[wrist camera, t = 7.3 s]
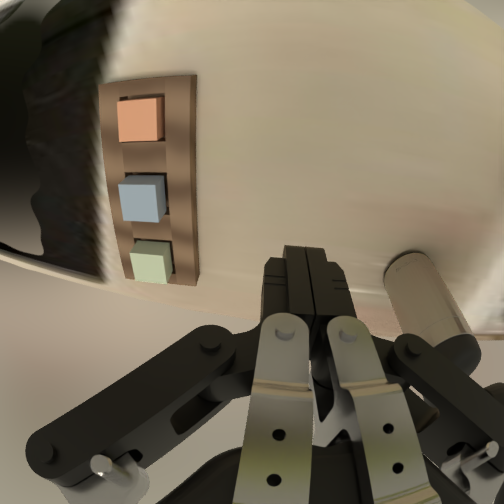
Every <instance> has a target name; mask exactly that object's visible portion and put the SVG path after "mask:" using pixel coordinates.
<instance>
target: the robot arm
mask: <svg viewBox="0 0 504 504" xmlns="http://www.w3.org/2000/svg"><path fill="white" fill-rule="evenodd" d="M384 286H385V288H386V291H387V293H388V296H389V298H390V301H391V303H392V306H393V308H394V311H395V314H396V316H397V319H398V321H399V324H400V327H401V329H402V332H403V334H402V335H400V336H398V337H397V338H396V340H395V342H392V341H389V340H385V339H381V338H378V337H375V336H373V335H371V334H370V332H369V329H368V328H367V326H366V325H365V324H364V323H363V322H362V321H360V320H359V319H357V316H356V312H355V309H354V305H353V302H352V298H351V295H350V291H349V290H348V289H349V288H348V284H347V282H346V278H345V274H344V271H343V270H342V269H341V268H340V266H339V265H338V264H337V263H336V262H327V258H326V254H325V250H324V249H323V248H313V247H301V246H289V245H285V246H284V251H283V258H274V257H270V259H269V260H268V261H267V263H266V264H265V267H264V276H263V285H262V294H261V315H260V323H259V324H258V326H256V327H255V328H254V329H252V330H250V331H247V332H243V333H238V334H232V333H231V332H230V331H229V330H227V329H225V328H223V327H221V326H217V325H204V326H200V327H198V328H196V329H194V330H193V331H191V332H190V333H188V334H187V335H185V336H184V337H183V338H181V339H180V340H179V341H177V342H175V343H174V344H172V345H171V346H169V347H168V348H166V349H165V350H163V351H162V352H160V353H159V354H157V355H156V356H154V357H153V358H151V359H150V360H148V361H147V362H145V363H144V364H142V365H141V366H139V367H138V368H136V369H135V370H133V371H132V372H130V373H129V374H127V375H126V376H124V377H122V378H121V379H119V380H118V381H116V382H115V383H113V384H112V385H110V386H109V387H107V388H105V389H104V390H102V391H101V392H99V393H98V394H96V395H95V396H93V397H91V398H90V399H88V400H86V401H85V402H83V403H82V404H80V405H78V406H77V407H75V408H74V409H72V410H70V411H69V412H67V413H66V414H64V415H62V416H61V417H59V418H57V419H56V420H54V421H52V422H51V423H49V424H47V425H46V426H44V427H43V428H41V429H39V430H38V431H36V432H34V433H33V434H32V435H31V436H30V438H29V439H28V441H27V444H26V450H25V452H26V458H27V462H28V464H29V466H30V467H31V469H32V470H33V471H34V472H35V473H36V474H38V475H39V476H41V477H43V478H45V479H47V480H49V481H51V482H53V483H54V484H56V485H57V486H58V487H59V489H60V490H61V492H62V493H63V494H64V496H65V498H66V499H67V500H68V502H69V504H137V503H138V501H139V500H140V499H141V498H142V497H143V496H144V495H145V494H146V493H147V491H148V489H149V477H148V474H147V472H146V470H145V469H146V468H147V467H149V466H150V465H151V464H153V463H154V462H156V461H157V460H158V459H160V458H161V457H162V456H164V455H165V454H166V453H168V452H169V451H170V450H172V449H173V448H174V447H176V446H177V445H178V444H180V443H181V442H182V441H183V440H185V439H186V438H187V437H188V436H190V435H191V434H192V433H194V432H195V431H196V430H197V429H199V428H200V427H201V426H202V425H204V424H205V423H206V422H207V421H208V420H209V419H211V418H212V417H213V416H214V415H216V414H217V413H218V412H219V411H220V410H221V409H223V408H224V407H225V406H226V405H227V404H228V403H230V401H231V400H232V399H235V398H240V397H244V396H249V395H251V397H250V404H249V410H248V416H247V422H246V429H245V435H244V440H243V446H242V447H238V448H234V449H231V450H228V451H225V452H223V453H221V454H219V455H217V456H215V457H213V458H212V459H210V460H209V461H207V462H206V463H205V464H204V465H202V466H201V467H200V468H199V469H198V470H197V471H196V472H194V473H193V474H192V475H191V476H190V477H188V478H187V479H186V480H185V481H184V482H183V483H181V484H180V485H179V486H178V487H176V488H175V489H174V490H173V491H171V492H170V493H169V494H168V495H166V496H165V497H164V498H163V499H161V500H160V501H159V502H157V503H156V504H492V502H493V500H494V499H495V501H494V504H504V383H495V384H492V385H490V386H488V387H485V388H482V387H481V386H480V385H479V384H477V383H476V382H475V381H474V380H472V379H471V378H470V377H469V375H470V374H471V373H472V372H473V371H474V370H475V369H476V367H477V366H478V364H479V362H480V360H481V350H480V347H479V345H478V342H477V340H476V338H475V337H474V335H473V333H472V331H471V329H470V327H469V325H468V323H467V321H466V319H465V318H464V316H463V314H462V312H461V310H460V309H459V307H458V305H457V303H456V301H455V300H454V298H453V296H452V295H451V293H450V291H449V289H448V288H447V286H446V285H445V283H444V281H443V280H442V278H441V276H440V275H439V273H438V271H437V270H436V268H435V267H434V265H433V264H432V262H431V261H430V259H429V258H428V257H427V256H426V255H424V254H421V253H411V254H407V255H404V256H402V257H401V258H399V259H397V260H396V261H395V262H394V263H393V264H392V265H391V266H390V267H389V269H388V270H387V272H386V274H385V278H384ZM309 360H311V371H310V374H309ZM410 386H413V387H414V388H415V389H416V390H417V391H418V392H420V393H421V394H422V395H423V398H424V401H423V400H422V399H421V398H420V397H419V396H417V395H416V394H415V393H414V392H413V391H412V390H411V389H409V387H410ZM309 388H310V389H309ZM313 414H314V421H315V433H314V438H313V445H312V437H313ZM426 456H427V457H428V458H429V459H430V460H431V461H432V462H434V463H435V464H436V465H437V466H438V467H439V468H438V467H437V466H435V465H434V464H433V463H432V462H431V461H430V460H429V459H428V458H427V457H426Z"/></svg>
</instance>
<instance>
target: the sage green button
mask: <svg viewBox="0 0 504 504" xmlns="http://www.w3.org/2000/svg"><path fill="white" fill-rule="evenodd" d="M130 258H131V263H132V267H133V272H134V276H135V281H142V282H150V283H159V284H167V283H168V281H169V279H170V276H171V274H172V271H173V268H172V260H171V252H170V243H166V242H153V241H140V240H137V242H136V243H135V245H134V247H133V248H132V250H131V251H130Z"/></svg>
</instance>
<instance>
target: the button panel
mask: <svg viewBox="0 0 504 504" xmlns="http://www.w3.org/2000/svg"><path fill="white" fill-rule="evenodd" d="M196 84H197V75H190V76H170V77H156V78H145V79H136V80H128V81H120V82H113V83H107V84H101V85H99V109H100V125H101V138H102V148H103V158H104V166H105V174H106V181H107V188H108V195H109V201H110V207H111V213H112V218H113V224H114V229H115V234H116V239H117V244H118V248H119V253H120V257H121V262H122V266H123V270H124V274H125V278H127V279H135V276H134V272H133V267H132V263H131V258H130V251H131V250H132V248H133V247H134V245H135V243H136V242H137V240H140V241H153V242H166V243H170V252H171V260H172V268H173V271H172V274H171V276H170V279H169V281H168V283H169V284H179V285H188V286H196V284H197V281H198V278H199V275H200V272H199V254H198V233H197V205H196ZM158 96H165V136H163V137H162V138H160V139H159V140H155V141H127V142H119V131H118V113H117V102H119V101H123V100H126V99H133V98H144V97H158ZM129 175H160V176H164V185H165V199H166V212H165V214H164V215H163V217H162V218H161V220H160V222H159V223H158V222H141V221H123V214H122V208H121V202H120V195H119V187H118V184H119V183H120V182H122V181H123V180H124V179H125V178H126V177H127V176H129Z"/></svg>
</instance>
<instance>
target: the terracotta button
mask: <svg viewBox="0 0 504 504" xmlns="http://www.w3.org/2000/svg"><path fill="white" fill-rule="evenodd" d="M117 113H118V131H119V142H127V141H155V140H159V139H160V138H162V137H163V136H165V96H158V97H144V98H133V99H126V100H123V101H119V102H117Z"/></svg>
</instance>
